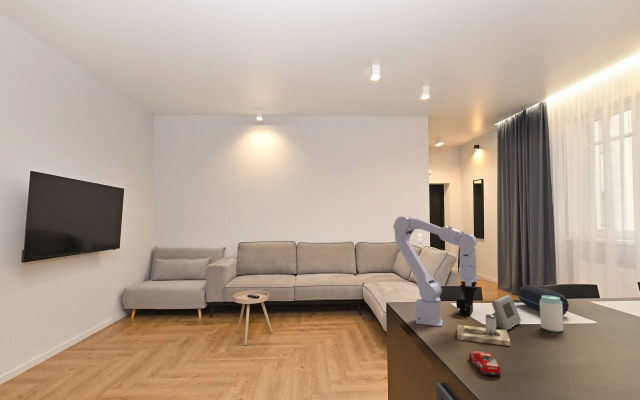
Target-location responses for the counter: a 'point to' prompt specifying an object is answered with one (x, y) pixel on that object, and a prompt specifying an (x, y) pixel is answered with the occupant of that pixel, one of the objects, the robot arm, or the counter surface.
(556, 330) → the can
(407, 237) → the robot arm
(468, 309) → the digital camera
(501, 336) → the keyhole board
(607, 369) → the counter surface
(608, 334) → the counter surface
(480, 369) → the race car
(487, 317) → the peg
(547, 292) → the portable speaker
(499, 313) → the digital clock
